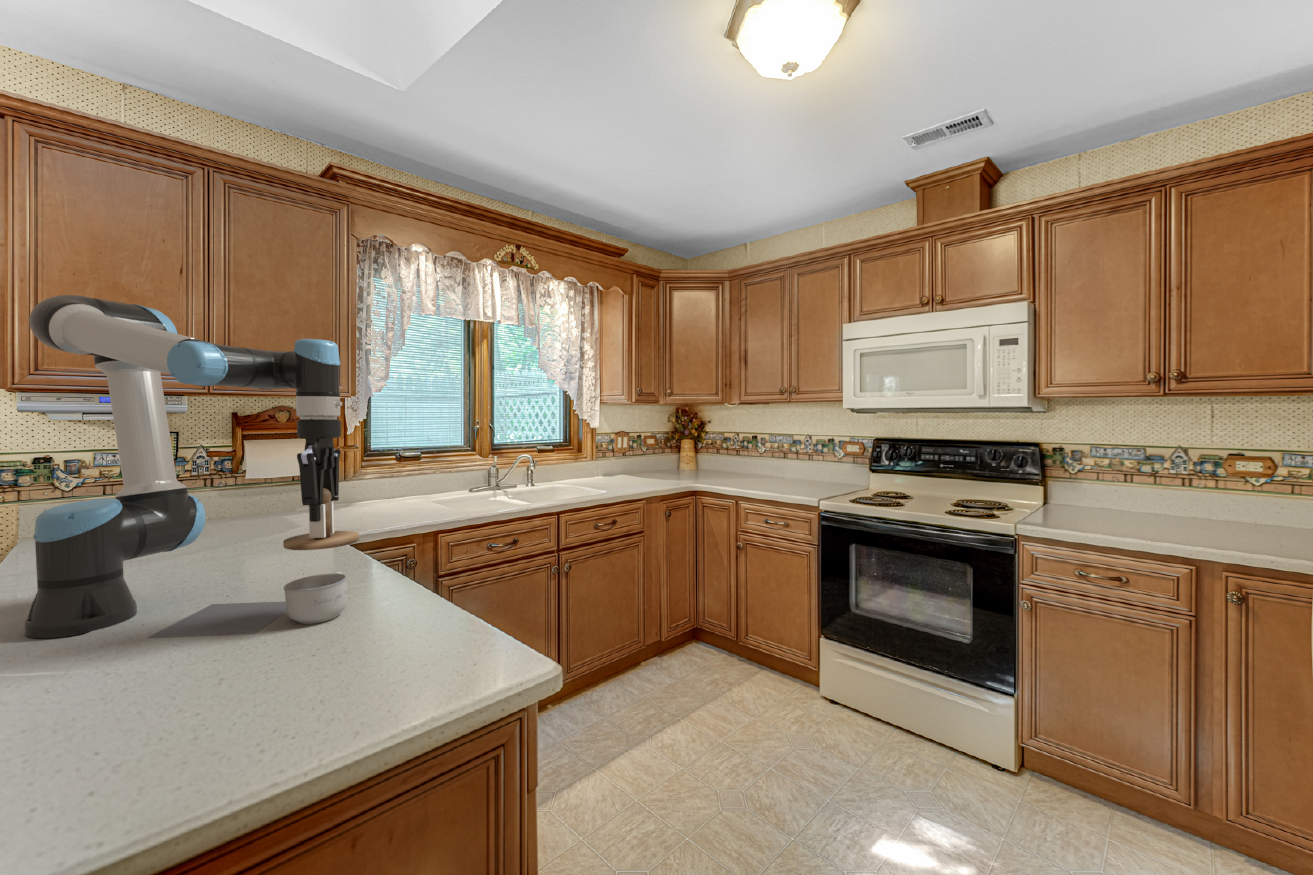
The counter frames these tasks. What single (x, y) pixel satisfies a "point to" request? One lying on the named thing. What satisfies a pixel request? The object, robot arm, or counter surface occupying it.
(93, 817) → the counter surface
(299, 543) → the lid
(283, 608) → the mat
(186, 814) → the counter surface
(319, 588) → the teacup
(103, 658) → the counter surface
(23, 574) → the counter surface
